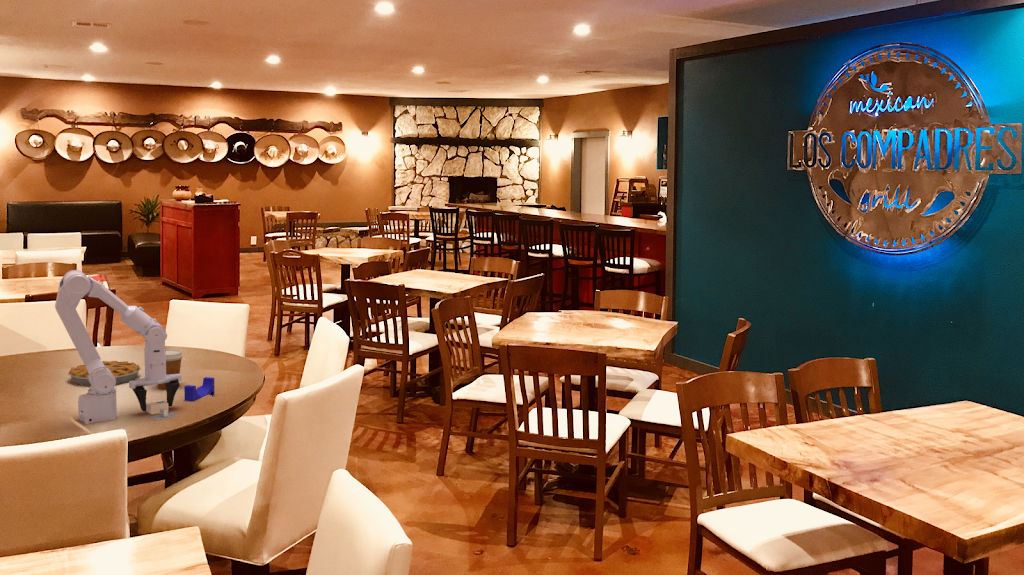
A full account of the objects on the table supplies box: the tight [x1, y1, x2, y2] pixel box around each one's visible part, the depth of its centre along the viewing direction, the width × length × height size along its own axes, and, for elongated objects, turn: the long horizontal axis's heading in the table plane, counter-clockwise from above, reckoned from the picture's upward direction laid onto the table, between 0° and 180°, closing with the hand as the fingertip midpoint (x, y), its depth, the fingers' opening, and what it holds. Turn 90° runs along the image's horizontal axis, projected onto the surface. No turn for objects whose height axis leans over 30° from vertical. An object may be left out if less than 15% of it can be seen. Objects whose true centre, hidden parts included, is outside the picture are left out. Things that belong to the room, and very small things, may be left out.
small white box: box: [145, 399, 170, 416], centre depth 239 cm, size 5×5×4 cm
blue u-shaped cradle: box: [183, 376, 215, 402], centre depth 256 cm, size 12×4×6 cm, turn 169°
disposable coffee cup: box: [157, 349, 184, 390], centre depth 268 cm, size 10×10×12 cm
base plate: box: [148, 411, 179, 422], centre depth 234 cm, size 7×5×1 cm
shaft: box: [159, 408, 169, 418], centre depth 234 cm, size 1×3×2 cm, turn 46°
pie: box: [67, 360, 142, 387], centre depth 276 cm, size 22×22×5 cm
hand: (156, 408), depth 239 cm, fingers open, 7 cm apart
